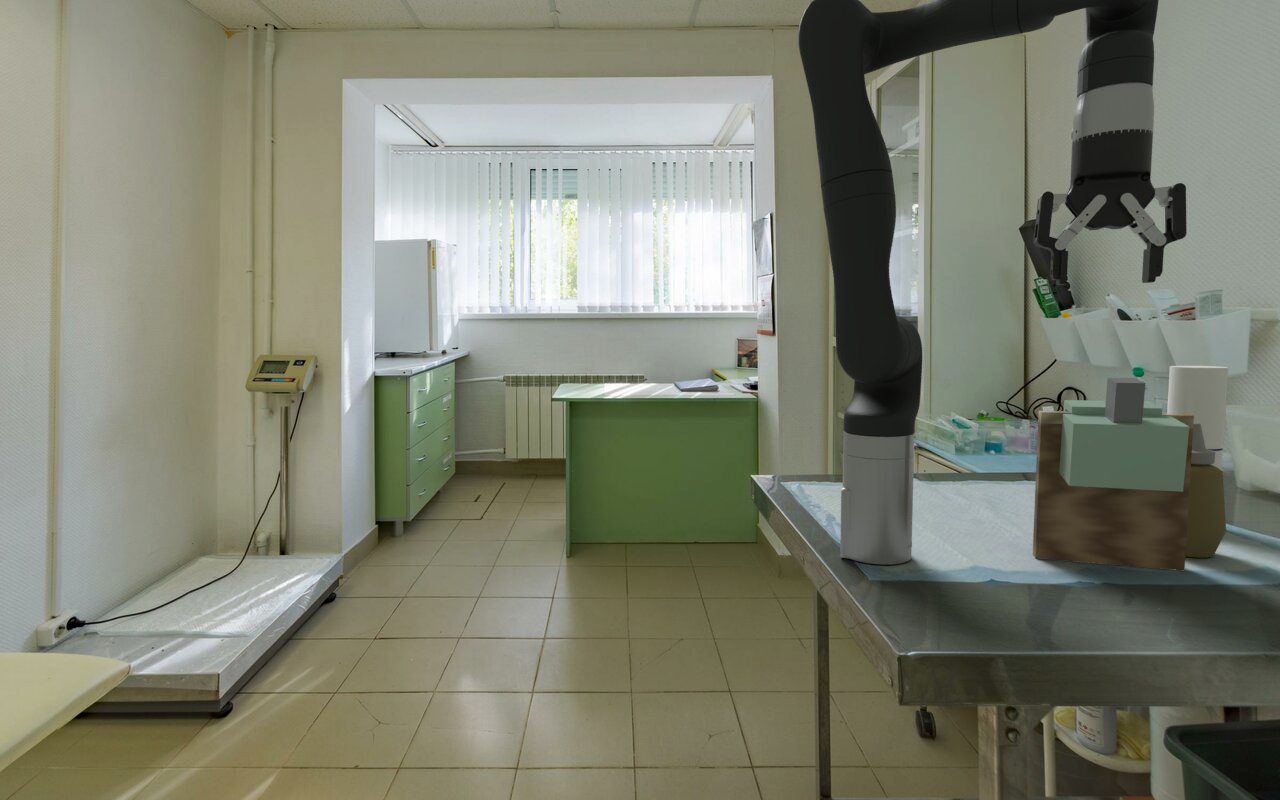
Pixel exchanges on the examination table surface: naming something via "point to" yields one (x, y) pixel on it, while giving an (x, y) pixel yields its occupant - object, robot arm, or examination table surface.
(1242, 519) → the examination table surface
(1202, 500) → the squeeze bottle
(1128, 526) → the wall board
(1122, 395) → the green box
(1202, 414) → the cylindrical container
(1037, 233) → the robot arm
